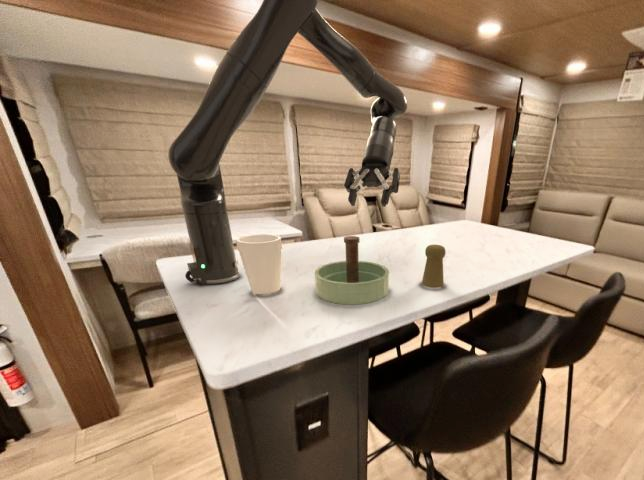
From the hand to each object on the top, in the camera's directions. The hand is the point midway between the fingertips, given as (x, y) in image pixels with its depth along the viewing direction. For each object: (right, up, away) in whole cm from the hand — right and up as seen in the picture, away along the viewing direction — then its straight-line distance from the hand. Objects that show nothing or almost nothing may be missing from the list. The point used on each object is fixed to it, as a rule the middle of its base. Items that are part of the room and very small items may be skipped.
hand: (367, 204), depth 79 cm
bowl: (-3, -23, -2) cm, 23 cm away
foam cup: (-24, -23, -4) cm, 33 cm away
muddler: (-3, -22, -3) cm, 22 cm away
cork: (+17, -21, +4) cm, 27 cm away
